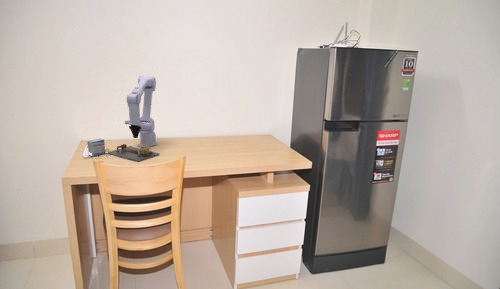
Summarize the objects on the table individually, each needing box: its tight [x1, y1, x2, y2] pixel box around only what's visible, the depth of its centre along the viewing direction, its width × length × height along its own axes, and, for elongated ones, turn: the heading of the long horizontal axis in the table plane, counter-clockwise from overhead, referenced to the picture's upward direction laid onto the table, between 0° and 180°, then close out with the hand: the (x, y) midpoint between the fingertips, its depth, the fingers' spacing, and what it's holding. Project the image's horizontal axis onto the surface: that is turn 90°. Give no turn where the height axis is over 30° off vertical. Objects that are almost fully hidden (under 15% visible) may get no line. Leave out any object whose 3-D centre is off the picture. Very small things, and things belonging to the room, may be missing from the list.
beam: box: [116, 143, 153, 156], centre depth 189 cm, size 6×23×3 cm, turn 61°
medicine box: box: [86, 138, 106, 158], centre depth 186 cm, size 8×4×9 cm, turn 149°
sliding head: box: [138, 145, 151, 156], centre depth 186 cm, size 7×3×5 cm, turn 151°
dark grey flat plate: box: [107, 145, 160, 163], centre depth 191 cm, size 16×25×1 cm, turn 61°
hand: (135, 137), depth 189 cm, fingers closed
